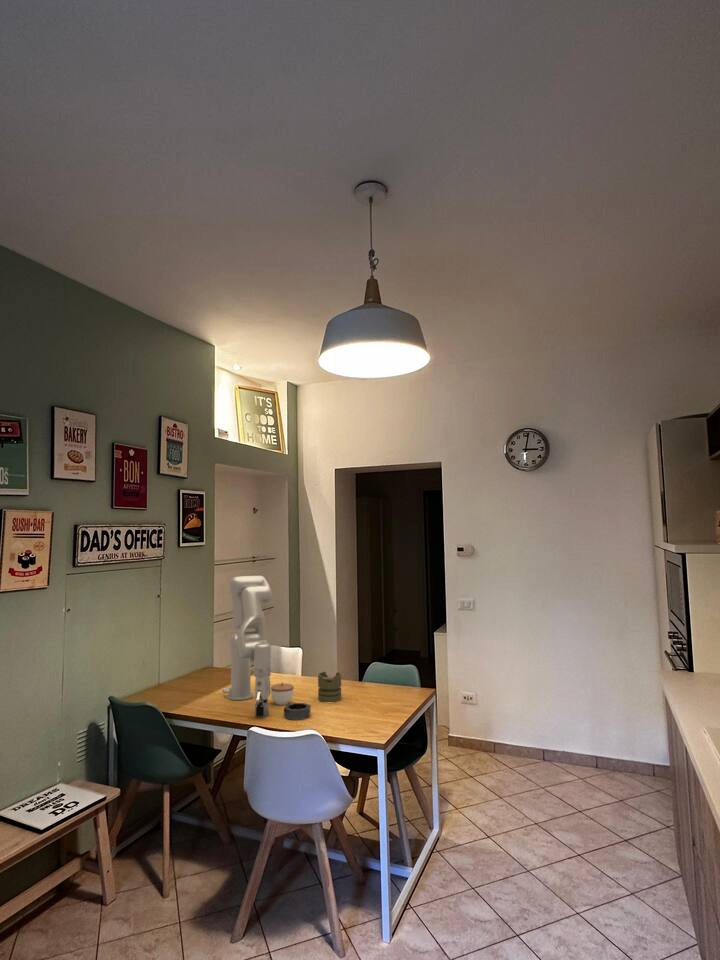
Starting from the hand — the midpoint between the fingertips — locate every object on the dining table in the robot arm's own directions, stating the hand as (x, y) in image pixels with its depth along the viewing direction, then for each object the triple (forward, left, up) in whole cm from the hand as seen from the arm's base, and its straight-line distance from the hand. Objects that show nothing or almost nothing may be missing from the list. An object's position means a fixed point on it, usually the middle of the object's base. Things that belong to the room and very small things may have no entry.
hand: (261, 713), depth 244 cm
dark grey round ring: (+16, 0, -1) cm, 16 cm away
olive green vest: (+27, +26, -1) cm, 38 cm away
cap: (0, 0, -1) cm, 1 cm away
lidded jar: (+5, +19, -1) cm, 20 cm away
